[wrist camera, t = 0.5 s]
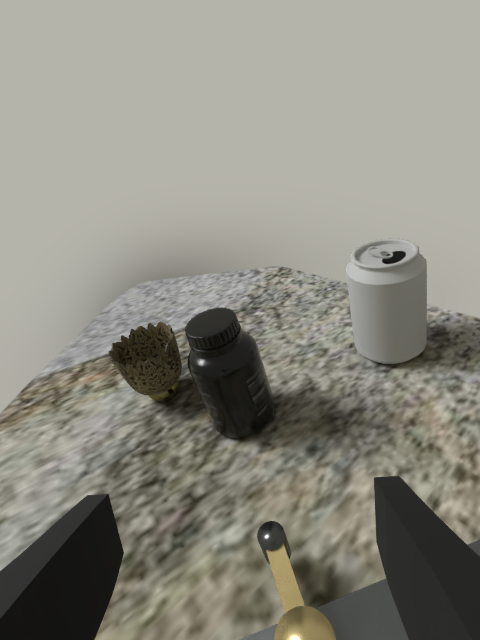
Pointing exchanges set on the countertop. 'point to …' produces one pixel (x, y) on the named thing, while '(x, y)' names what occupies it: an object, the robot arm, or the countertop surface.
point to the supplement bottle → (229, 374)
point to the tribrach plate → (361, 614)
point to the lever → (290, 591)
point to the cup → (149, 361)
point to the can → (388, 300)
